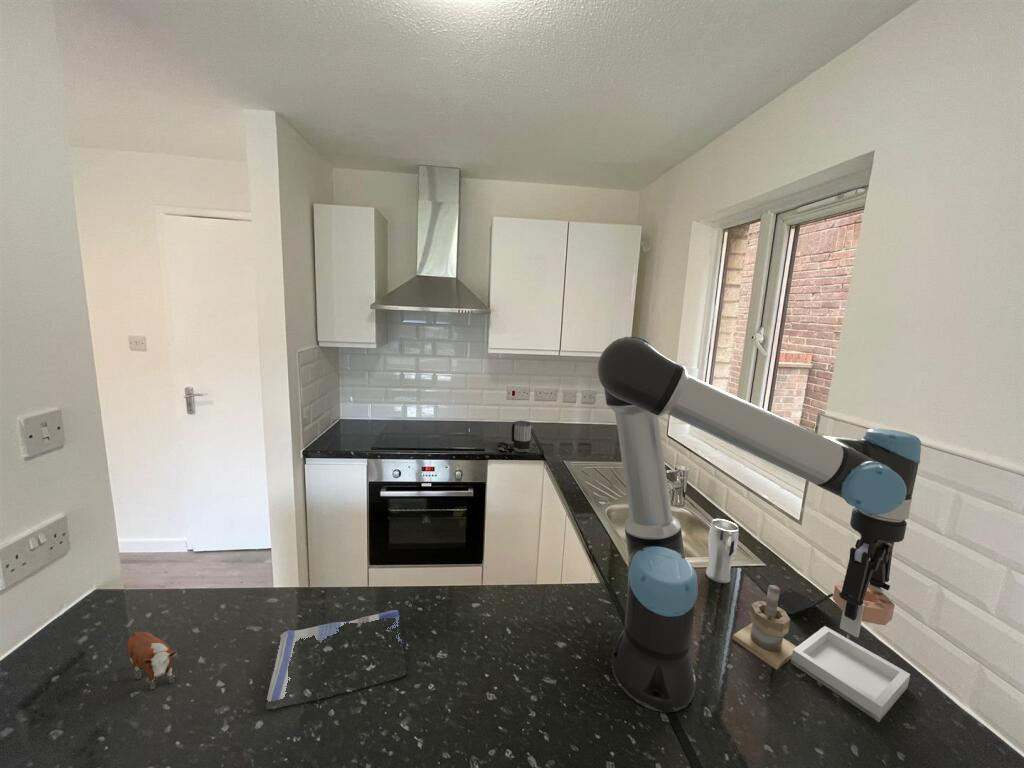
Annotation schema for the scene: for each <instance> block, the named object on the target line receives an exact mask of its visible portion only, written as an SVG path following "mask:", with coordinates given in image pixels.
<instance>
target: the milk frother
mask: <svg viewBox="0 0 1024 768" xmlns="http://www.w3.org/2000/svg"><path fill="white" fill-rule="evenodd" d="M532 425H533V423H532V422H530V421H526V420H516V421H514V422H513V423H512V425H511V442H513V446H514V447H515V448H518V449H529V448H530V449H531V438H532V437H531V436H532ZM505 445H506V446H505ZM508 445H509V444H508V443H506V442H502V441H500V442H498V444H497V446H496V448H497V447H498V448H500V447H502V448H505V449H506V447H507V446H508ZM498 448H497V449H498Z"/></svg>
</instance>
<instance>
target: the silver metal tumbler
mask: <svg viewBox="0 0 1024 768" xmlns="http://www.w3.org/2000/svg"><path fill="white" fill-rule="evenodd" d="M739 529H740V527H739V526H738V525H737V524H736V523H734V522H732V521H729V520H726V519H721V518H714V519H712V520H711V523H710V526H709V532H708V538H707V543H708V547H707V549H708V563H707V566H706V569H705V575H706V576H707V578H709V579H710V580H712V581H714V582H717V583H719V584H728V583H730V582H731V579H732V577H731V567H732V563H733V561H734V558H735V555H736V553H737V548H738V543H739V531H740V530H739Z"/></svg>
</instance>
